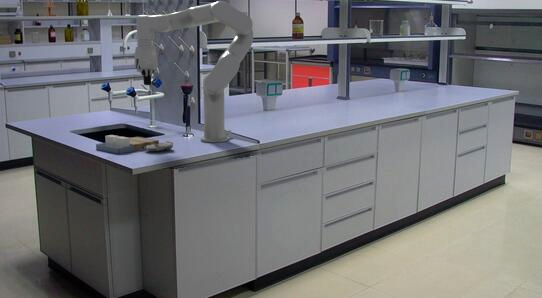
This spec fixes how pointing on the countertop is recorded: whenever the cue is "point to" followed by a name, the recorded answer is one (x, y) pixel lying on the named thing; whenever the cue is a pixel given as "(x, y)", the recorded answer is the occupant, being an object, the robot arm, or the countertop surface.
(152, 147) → the stone
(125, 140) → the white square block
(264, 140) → the countertop surface
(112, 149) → the box
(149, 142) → the board
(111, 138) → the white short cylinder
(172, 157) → the countertop surface
